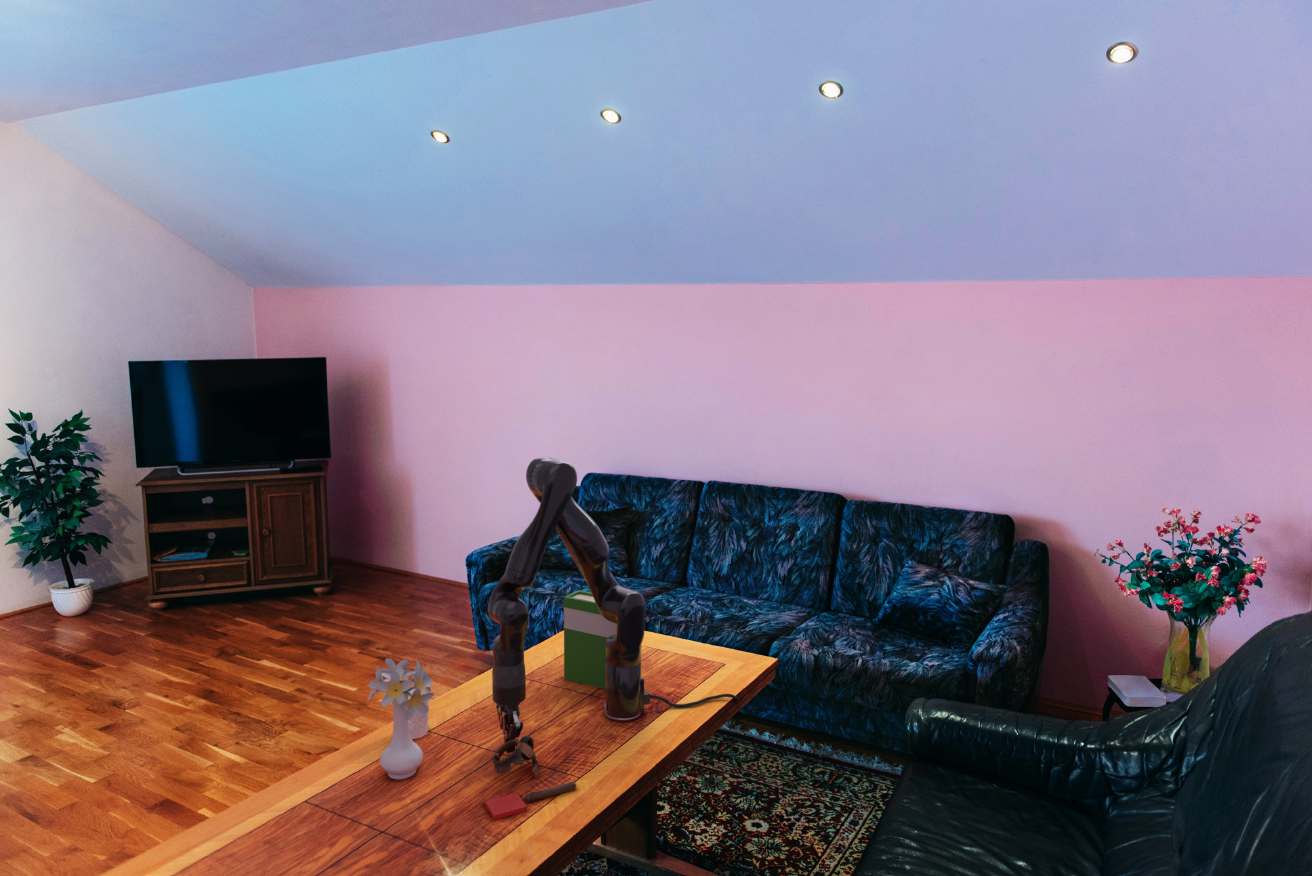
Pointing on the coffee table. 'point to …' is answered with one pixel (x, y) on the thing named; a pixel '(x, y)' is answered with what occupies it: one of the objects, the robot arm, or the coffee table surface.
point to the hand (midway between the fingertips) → (509, 751)
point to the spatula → (515, 804)
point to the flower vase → (402, 714)
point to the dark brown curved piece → (516, 755)
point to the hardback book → (585, 639)
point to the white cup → (418, 722)
